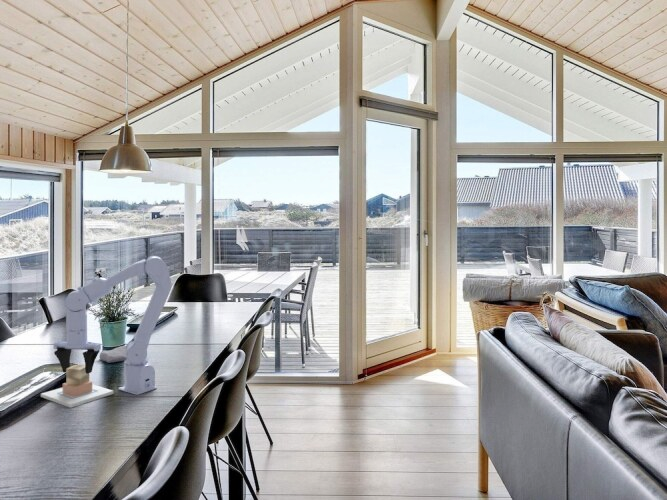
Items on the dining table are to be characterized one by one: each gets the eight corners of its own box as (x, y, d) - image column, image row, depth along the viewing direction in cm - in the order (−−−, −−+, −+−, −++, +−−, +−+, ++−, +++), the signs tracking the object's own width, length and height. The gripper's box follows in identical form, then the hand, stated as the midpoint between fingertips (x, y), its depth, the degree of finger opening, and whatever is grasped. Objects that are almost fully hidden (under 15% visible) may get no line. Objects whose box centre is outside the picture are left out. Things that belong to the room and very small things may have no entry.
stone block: (139, 362, 195) (126, 353, 201) (140, 351, 194) (127, 342, 200) (110, 370, 186) (97, 360, 192) (111, 358, 185) (98, 348, 191)
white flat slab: (113, 393, 154) (113, 381, 154) (70, 407, 142) (70, 394, 142) (83, 384, 162) (83, 372, 162) (40, 396, 150) (40, 384, 150)
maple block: (89, 380, 154) (89, 365, 154) (80, 385, 150) (80, 369, 150) (75, 379, 155) (75, 364, 155) (66, 384, 150) (66, 368, 150)
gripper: (106, 327, 154) (106, 369, 155) (63, 325, 156) (64, 367, 157) (92, 332, 147) (93, 376, 148) (48, 330, 149) (49, 373, 150)
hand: (77, 372), depth 152 cm, fingers open, 7 cm apart
